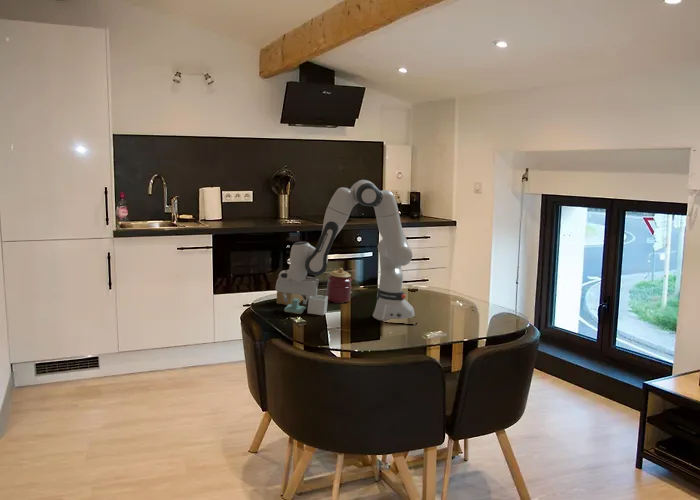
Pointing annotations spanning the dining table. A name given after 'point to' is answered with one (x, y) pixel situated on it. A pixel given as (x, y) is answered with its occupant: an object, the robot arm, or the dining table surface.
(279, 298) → the sandwich container
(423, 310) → the dining table surface
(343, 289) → the canister
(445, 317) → the dining table surface
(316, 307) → the box
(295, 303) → the lid
